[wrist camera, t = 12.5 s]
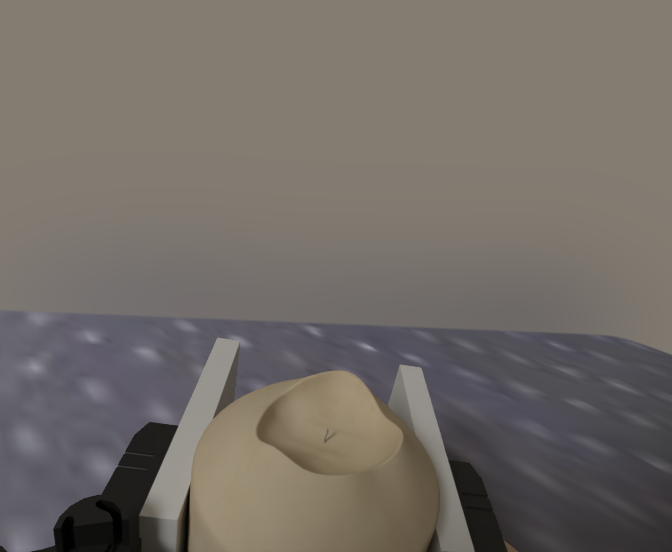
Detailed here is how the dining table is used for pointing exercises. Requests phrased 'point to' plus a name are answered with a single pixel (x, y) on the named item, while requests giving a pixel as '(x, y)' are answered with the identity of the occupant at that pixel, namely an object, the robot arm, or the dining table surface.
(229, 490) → the candle
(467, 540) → the robot arm
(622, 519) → the dining table surface
